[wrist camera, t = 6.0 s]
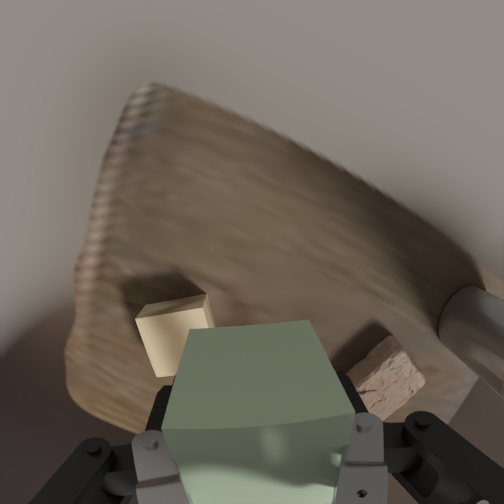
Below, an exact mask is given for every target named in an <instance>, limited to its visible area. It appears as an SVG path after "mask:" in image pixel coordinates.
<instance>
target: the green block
mask: <svg viewBox="0 0 504 504" xmlns="http://www.w3.org/2000/svg"><path fill="white" fill-rule="evenodd" d="M354 418H355V410H354V408H353V406H352V404H351V402H350V400H349V398H348V396H347V394H346V392H345V390H344V388H343V386H342V384H341V382H340V380H339V378H338V376H337V374H336V372H335V370H334V368H333V366H332V364H331V362H330V361H329V359H328V357H327V355H326V353H325V351H324V349H323V347H322V345H321V343H320V341H319V339H318V337H317V335H316V333H315V331H314V329H313V327H312V325H311V324H310V322H309V320H301V321H291V322H281V323H271V324H259V325H247V326H233V327H218V328H201V329H189V333H188V336H187V339H186V343H185V346H184V349H183V353H182V356H181V360H180V363H179V366H178V370H177V373H176V377H175V380H174V384H173V387H172V391H171V394H170V398H169V402H168V405H167V409H166V413H165V416H164V420H163V424H162V427H161V429H162V432H163V435H164V438H165V440H166V443H167V446H168V449H169V451H170V454H171V457H172V459H173V460H175V461H176V463H177V466H178V468H179V471H180V474H181V477H182V480H183V483H184V485H185V488H186V490H187V493H189V495H190V497H191V499H192V502H193V504H330V503H331V502H332V496H333V491H334V486H335V481H337V477H338V472H339V465H340V458H341V452H342V447H343V446H344V445H349V444H350V439H351V434H352V429H353V423H354Z"/></svg>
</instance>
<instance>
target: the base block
mask: <svg viewBox="0 0 504 504" xmlns="http://www.w3.org/2000/svg"><path fill="white" fill-rule="evenodd" d="M135 321H136V323H137V326H138V329H139V332H140V335H141V337H142V340H143V343H144V346H145V348H146V351H147V353H148V356H149V359H150V361H151V364H152V366H153V369H154V371H155V374H156V376H157V377H164V376H173V375H176V373H177V370H178V366H179V363H180V360H181V356H182V353H183V349H184V346H185V343H186V339H187V336H188V333H189V329H201V328H216V327H215V323H214V319H213V316H212V312H211V308H210V304H209V300H208V297H207V294H203V295H197V296H192V297H187V298H181V299H176V300H170V301H165V302H159V303H153V304H148V305H145V306H144V307H143V309H142V310H141V311H140V313H139V314H138V315H137V317H136V318H135Z"/></svg>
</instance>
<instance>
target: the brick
mask: <svg viewBox="0 0 504 504" xmlns="http://www.w3.org/2000/svg"><path fill="white" fill-rule="evenodd" d="M346 375H347V376H349V377H350V379H351V381H352V383H353V384H354V386H355V388H356V390H357V392H358V393H359V395H360V397H361V399H362V401H363V402H364V404H365V406H366V408H367V410H368V412H369V413H372V414H374V415H376V416H378V417H379V418H380V419H381V420H382V421H383V420H384V419H385V418H387V417H388V416H389V415H390V414H392V413H393V412H394V411H396V410H397V409H398V408H399V407H400V406H402V405H403V404H405V403H406V402H407V401H408V399H409V398H410V397H412V396H413V395H414V394H415V393H416V392H417V390H418V389H420V388H421V387H422V386H423V385H424V383H425V378H424V376H423V375H424V374H423V372H422V370H421V369H420V368H419V367H418V366H417V365H416V363H415V362H414V361H413V359H412V358H411V357H410V355H409V354H408V353H407V352H406V350H405V349H404V348H403V347H402V345H401V344H400V343H399V342H398V340H397V339H395V337H394V336H392V335H389V336H387V337H386V338H384V340H382V341H381V342H380V343H378V344H377V345H376V346H375V347H374V348H373V349H372V350H371V351H370V352H369V353H368V355H367V356H366V358H364V359H362V360H361V361H360V362H358V363H357V364H356V365H354V366H353V368H351V369H350V370H349V371H348V372H347V373H346Z"/></svg>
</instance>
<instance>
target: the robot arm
mask: <svg viewBox="0 0 504 504" xmlns="http://www.w3.org/2000/svg"><path fill="white" fill-rule="evenodd" d="M438 334H439V338H440V341H441V342H442V344H443V345H444V346H446V347H447V348H448V349H449V350H450V351H451V352H452V353H454V354H455V355H456V356H457V357H458V358H459V359H460V360H461V361H462V362H464V363H465V364H466V365H467V366H468V367H469V368H470V369H471V370H473V371H474V372H475V373H476V374H477V375H478V376H479V377H480V378H481V379H483V380H484V381H485V382H486V383H487V384H488V385H489V386H490V387H491V388H492V389H493V390H495V391H496V392H497V393H498V394H499V395H500V396H501V397H502V398H503V399H504V300H502V299H500V298H498V297H496V296H495V295H493V294H491V293H489V292H486V291H484V290H482V289H480V288H478V287H476V286H467V287H464V288H462V289H460V290H459V291H458V292H456V293H455V294H454V295H453V296H452V297H451V299H450V300H449V301H448V303H447V304H446V306H445V308H444V310H443V312H442V314H441V317H440V321H439V326H438ZM336 374H337V376H338V378H339V380H340V382H341V384H342V386H343V388H344V390H345V392H346V394H347V396H348V398H349V400H350V402H351V404H352V406H353V408H354V410H355V418H354V423H353V429H352V434H351V439H350V444H349V445H344V446H343V447H342V452H341V458H340V465H339V472H338V477H337V481H335V486H334V491H333V496H332V502H331V504H387V473H391V474H392V475H393V477H394V478H395V479H396V480H397V481H398V482H399V483H400V484H401V485H402V486H403V487H404V488H405V489H406V491H407V492H408V493H409V494H410V495H411V496H412V497H413V498H414V499H415V500H416V501H417V502H418V503H419V504H504V469H503V468H502V467H501V466H499V465H498V464H497V463H495V462H494V461H493V460H491V459H490V458H489V457H488V456H486V455H485V454H484V453H482V452H481V451H480V450H479V449H477V448H476V447H475V446H473V445H472V444H471V443H469V442H468V441H467V440H466V439H465V438H463V437H462V436H461V435H459V434H458V433H457V432H456V431H454V430H453V429H451V428H450V427H449V426H448V425H447V424H445V423H444V422H443V421H442V420H440V419H439V418H438V417H437V416H435V415H434V414H432V413H430V412H426V411H417V412H413V413H411V414H410V415H408V416H407V418H406V419H405V422H400V423H386V422H382V420H381V419H380V418H379V417H378V416H376V415H374V414H372V413H369V412H368V410H367V408H366V406H365V404H364V402H363V401H362V399H361V397H360V395H359V393H358V392H357V390H356V388H355V386H354V384H353V383H352V381H351V379H350V377H349V376H347V375H346V374H344V373H343V372H341V371H340V372H336ZM175 377H176V375H175ZM175 377H174V380H175ZM173 384H174V381H173ZM173 384H172V385H164V386H163V387H162V389H161V390H160V391H159V392H158V393H157V395H156V398H155V402H154V404H153V409H152V410H151V413H150V416H149V420H148V423H147V426H146V429H145V431H144V432H141V433H139V434H138V435H136V436H135V437H134V439H133V441H132V443H131V444H126V445H120V446H113V447H111V445H110V443H109V442H107V440H105V439H103V438H98V437H97V438H96V437H94V438H89V439H86V440H85V441H83V442H82V443H81V444H80V445H79V446H78V447H77V448H76V449H75V450H74V452H73V453H72V454H71V455H70V456H69V458H68V459H67V460H66V461H65V462H64V463H63V464H62V465H61V467H60V468H59V469H58V470H57V471H56V473H55V474H54V475H53V476H52V477H51V478H50V479H49V481H48V482H47V483H46V484H45V485H44V486H43V488H42V489H41V490H40V491H39V492H38V493H37V495H36V496H35V497H34V498H33V499H32V500H31V501H30V503H29V504H129V502H130V500H131V499H132V497H133V495H135V494H137V498H138V503H139V504H193V502H192V499H191V497H190V495H189V493H187V490H186V488H185V485H184V483H183V480H182V477H181V474H180V471H179V468H178V466H177V463H176V461H175V460H173V459H172V457H171V454H170V451H169V449H168V446H167V443H166V440H165V438H164V435H163V432H162V429H161V427H162V424H163V420H164V416H165V413H166V409H167V405H168V402H169V398H170V394H171V391H172V387H173Z"/></svg>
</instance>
